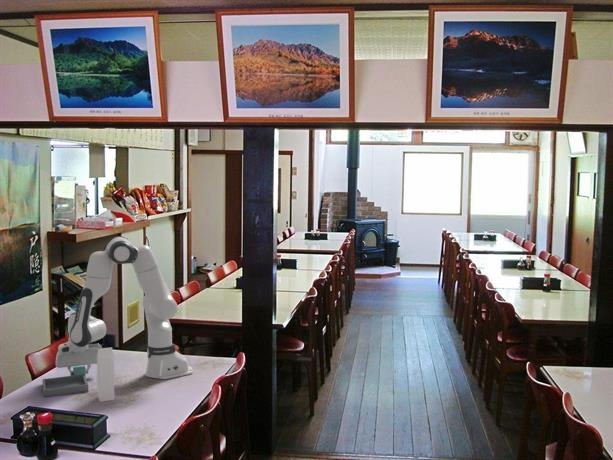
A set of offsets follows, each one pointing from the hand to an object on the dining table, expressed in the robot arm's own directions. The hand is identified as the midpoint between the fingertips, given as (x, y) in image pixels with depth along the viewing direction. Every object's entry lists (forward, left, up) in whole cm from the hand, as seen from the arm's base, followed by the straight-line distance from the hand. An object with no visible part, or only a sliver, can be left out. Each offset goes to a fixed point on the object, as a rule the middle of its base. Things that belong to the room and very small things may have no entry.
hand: (79, 374), depth 288 cm
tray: (+7, +13, -2) cm, 15 cm away
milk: (-8, +33, -2) cm, 34 cm away
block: (0, 0, -2) cm, 2 cm away
